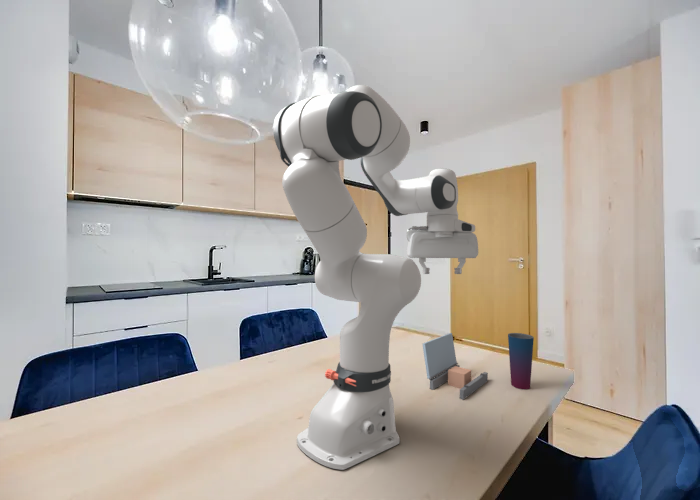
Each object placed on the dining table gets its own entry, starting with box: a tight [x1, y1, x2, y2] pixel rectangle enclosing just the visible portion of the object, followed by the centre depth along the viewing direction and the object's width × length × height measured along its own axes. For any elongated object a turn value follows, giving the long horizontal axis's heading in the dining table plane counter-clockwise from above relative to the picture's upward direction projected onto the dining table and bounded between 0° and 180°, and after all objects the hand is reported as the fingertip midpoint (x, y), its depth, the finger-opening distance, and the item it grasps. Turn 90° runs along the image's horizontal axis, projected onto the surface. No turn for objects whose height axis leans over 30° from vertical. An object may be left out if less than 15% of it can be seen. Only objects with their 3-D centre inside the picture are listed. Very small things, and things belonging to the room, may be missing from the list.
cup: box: [507, 332, 535, 390], centre depth 95 cm, size 7×7×15 cm
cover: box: [422, 332, 459, 381], centre depth 100 cm, size 18×10×2 cm
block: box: [447, 366, 472, 390], centre depth 95 cm, size 5×5×4 cm
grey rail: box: [429, 364, 489, 401], centre depth 95 cm, size 18×10×3 cm, turn 137°
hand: (442, 274), depth 92 cm, fingers open, 8 cm apart
